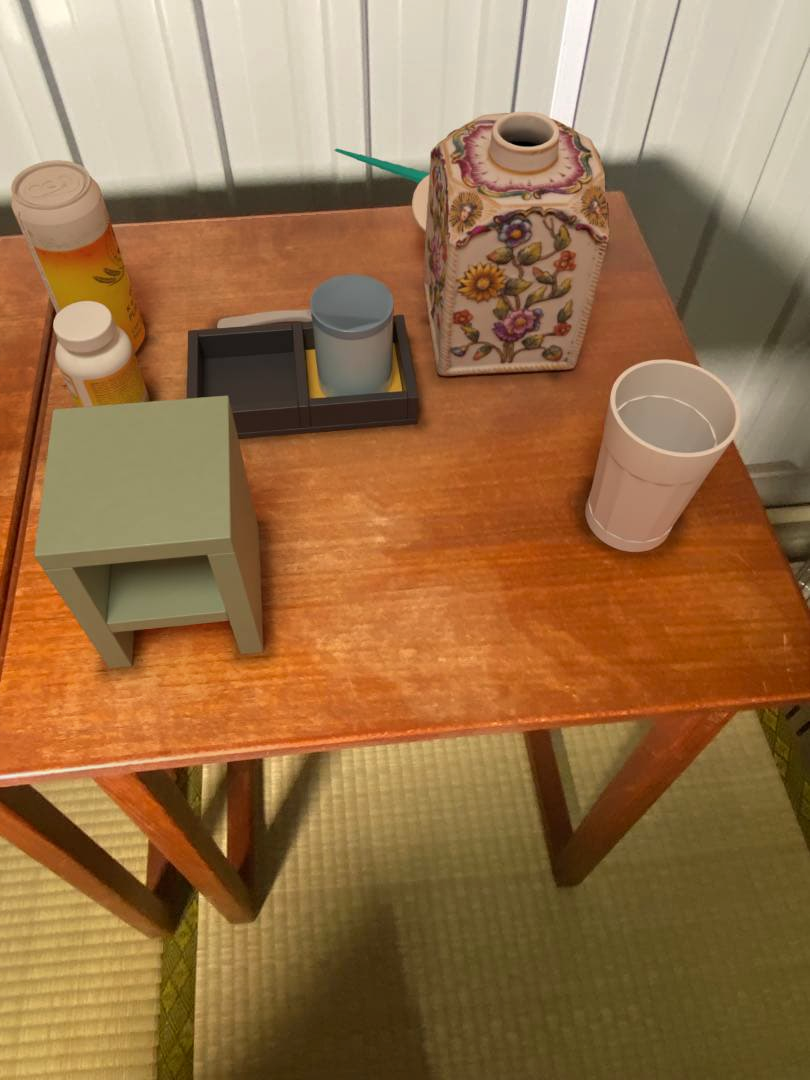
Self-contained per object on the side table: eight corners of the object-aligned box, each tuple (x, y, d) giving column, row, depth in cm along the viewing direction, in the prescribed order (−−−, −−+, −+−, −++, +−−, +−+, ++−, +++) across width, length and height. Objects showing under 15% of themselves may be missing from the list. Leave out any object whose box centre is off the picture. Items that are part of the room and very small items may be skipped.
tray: (194, 442, 65) (186, 416, 63) (195, 358, 70) (187, 329, 67) (417, 424, 67) (418, 397, 64) (403, 342, 71) (403, 314, 69)
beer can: (159, 351, 70) (110, 190, 58) (90, 380, 68) (24, 221, 56) (129, 308, 73) (75, 147, 60) (61, 336, 71) (-8, 174, 58)
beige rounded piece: (399, 211, 70) (392, 226, 80) (450, 250, 71) (436, 259, 81) (436, 156, 69) (424, 178, 79) (486, 197, 70) (468, 213, 80)
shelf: (109, 669, 55) (33, 556, 43) (117, 540, 60) (52, 408, 48) (263, 652, 56) (230, 537, 44) (258, 527, 61) (228, 394, 49)
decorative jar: (577, 374, 70) (630, 176, 54) (437, 381, 69) (451, 184, 54) (550, 277, 76) (591, 76, 61) (422, 283, 75) (431, 81, 60)
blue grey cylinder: (320, 410, 66) (312, 334, 59) (314, 355, 69) (307, 276, 63) (397, 404, 67) (398, 328, 60) (388, 349, 70) (388, 271, 63)
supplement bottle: (70, 428, 66) (26, 336, 58) (104, 380, 68) (66, 286, 60) (132, 445, 65) (96, 355, 57) (164, 396, 68) (134, 303, 60)
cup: (657, 464, 65) (707, 350, 55) (700, 549, 61) (763, 443, 51) (559, 483, 64) (591, 370, 54) (596, 571, 60) (639, 467, 49)
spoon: (360, 334, 72) (357, 316, 70) (221, 351, 72) (215, 334, 70) (357, 310, 74) (355, 292, 72) (221, 326, 73) (215, 309, 72)
